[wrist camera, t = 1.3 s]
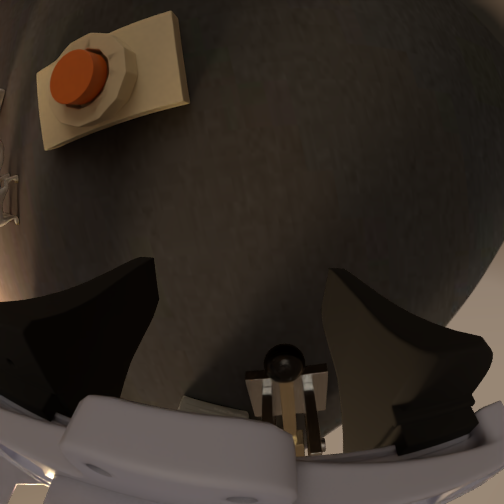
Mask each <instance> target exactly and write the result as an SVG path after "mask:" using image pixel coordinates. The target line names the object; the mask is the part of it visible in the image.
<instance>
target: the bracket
mask: <svg viewBox="0 0 504 504" xmlns="http://www.w3.org/2000/svg"><path fill="white" fill-rule="evenodd" d="M245 382H246V386H247V389H248V393H249V397H250V401H251V404H252V408H253V411H254V415H255V417H259V416H262V421H264V422H269V423H271V424H273V425H275V426H276V415H282V408H281V398H280V388H279V383H278V382H275V381H273V380H272V379H271V378H270V377H269V376H268V375H267V374H266V372H265V370H261V371H247V372H246V374H245ZM327 382H328V369H327V364H326V363H325V364H318V365H310V366H305V367H304V371H303V373H302V374H301V376H300V377H299V378H298V379H296V380H295V381H293V386H294V399H295V413H304V417H305V427H306V437H307V448H308V456H318V455H322V452H325V450H326V446H325V439H324V438H321V437H320V430H319V422H318V415H317V411H320V410H325V409H326V397H327Z"/></svg>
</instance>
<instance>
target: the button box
mask: <svg viewBox="0 0 504 504" xmlns="http://www.w3.org/2000/svg"><path fill="white" fill-rule="evenodd" d="M76 49H83V50H86V51H89V52H92V53H95V54H98V55H100V56H101V57H103V59H104V60H105V62H106V64H107V79H106V82H105V84H104V87H103V88H102V90H101V92H100V93H99V94H98V95H97V96H96V97H95V98H94V99H93V100H91V101H90V102H88V103H86V104H82V105H74V104H60V103H58V102H56V101H55V100H54V98H53V97H52V95H51V92H50V79H51V75H52V72H53V70H54V68H55V66H56V64H57V63H58V61H59V60H60V59H61V58H62V57H63V56H64V55H65V54H67V53H68V52H70V51H73V50H76ZM37 92H38V104H39V114H40V122H41V130H42V137H43V143H44V149H45V151H47V150H51V149H56V148H59V147H61V146H63V145H65V144H68V143H70V142H72V141H75V140H77V139H79V138H82V137H84V136H87V135H89V134H92V133H94V132H97V131H100V130H102V129H105V128H108V127H111V126H113V125H116V124H119V123H122V122H125V121H128V120H131V119H134V118H138V117H141V116H144V115H148V114H151V113H155V112H158V111H162V110H165V109H169V108H173V107H177V106H181V105H185V104H189V103H190V99H189V93H188V86H187V79H186V73H185V66H184V59H183V52H182V44H181V37H180V29H179V21H178V18H177V17H176V16H175V14H174V13H173V12H172V11H168V12H165V13H162V14H158V15H155V16H152V17H149V18H146V19H144V20H141V21H138V22H135V23H133V24H130V25H128V26H125V27H123V28H120V29H118V30H115V31H113V32H111V33H109V34H105V33H89V34H87V35H85V36H83V37H81V38H80V39H78V40H76V41H74V42H72V43H71V44H69V46H68V47H67V48H66V49H65V50H64V52H63V53H62V54H61V55H60V57H59V58H58V59H57V60H56V61H55V62H53V63H52V64H50V65H49V66H47V67H45V68H44V69H42V70H41V71H39V72H38V73H37Z"/></svg>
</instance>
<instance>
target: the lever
mask: <svg viewBox="0 0 504 504" xmlns="http://www.w3.org/2000/svg"><path fill="white" fill-rule="evenodd" d="M304 367H305V359H304V356H303V354H302V352H301V351H300V350H299V349H298V348H297V347H295V346H293V345H291V344H279V345H276V346H274V347H273V348H271V349H270V350H269V351H268V353H267V354H266V356H265V359H264V369H265V372H266V374H267V375H268V376H269V377H270V378H271V379H272V380H273V381H275V382H278V383H279V388H280V398H281V408H282V418H283V429H284V431H286V432H288V433H290V434H291V435H292V437H293V440H294V444H295V452H296V457H299V456H305V452H304V438H303V430H297V427H296V413H295V399H294V386H293V381H295V380H296V379H298V378H299V377H300V376H301V374H302V373H303V371H304Z"/></svg>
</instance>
